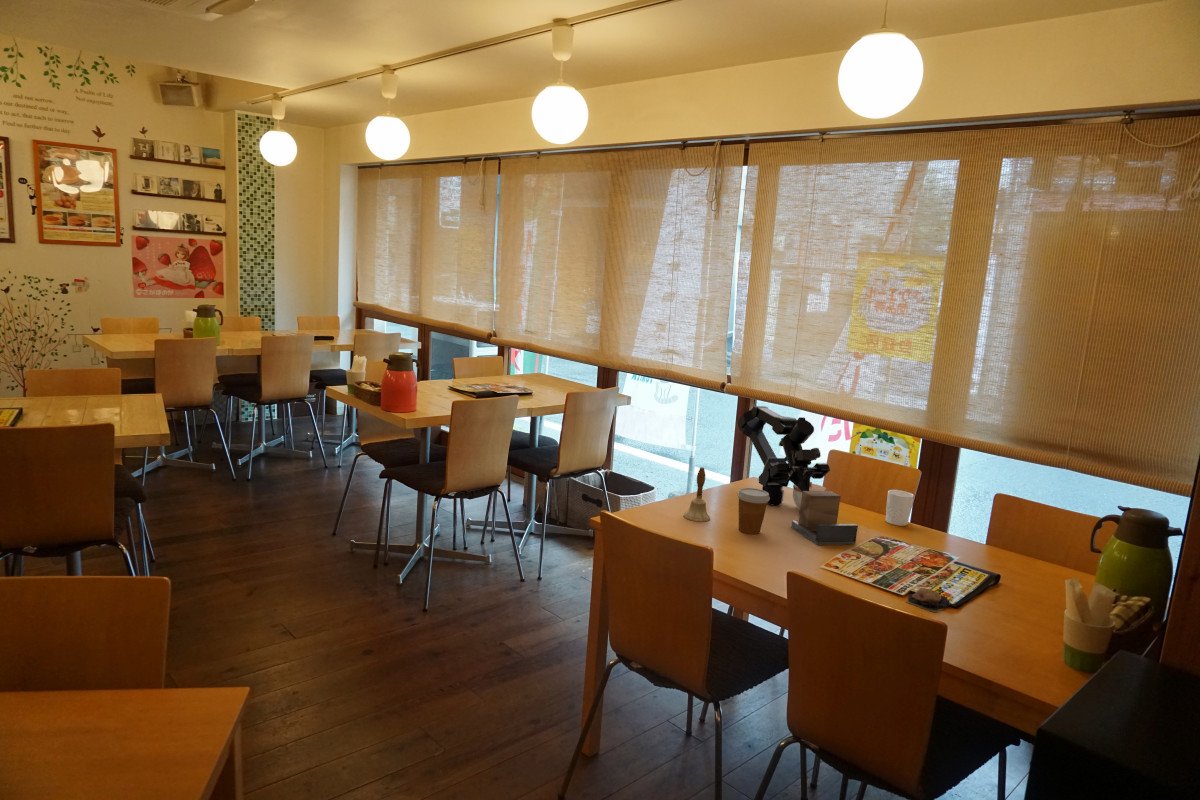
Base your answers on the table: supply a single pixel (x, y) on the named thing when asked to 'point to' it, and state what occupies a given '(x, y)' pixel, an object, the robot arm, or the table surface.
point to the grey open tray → (829, 533)
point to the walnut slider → (818, 508)
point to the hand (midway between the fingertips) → (807, 494)
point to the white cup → (898, 507)
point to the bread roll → (928, 600)
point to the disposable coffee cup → (752, 509)
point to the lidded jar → (798, 493)
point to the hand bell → (698, 502)
